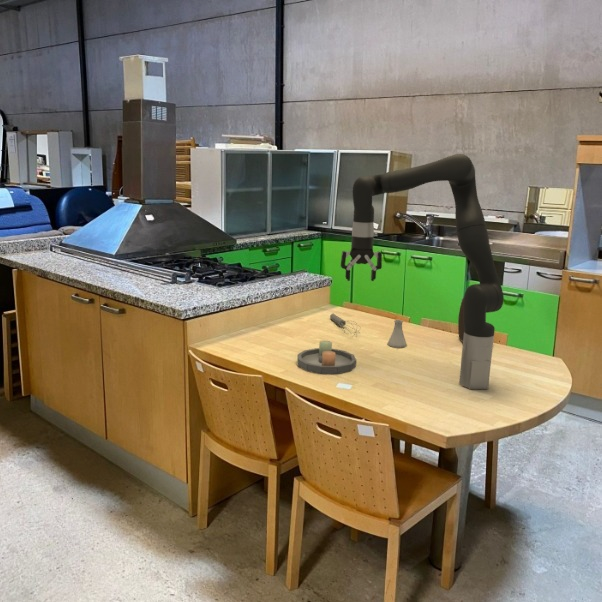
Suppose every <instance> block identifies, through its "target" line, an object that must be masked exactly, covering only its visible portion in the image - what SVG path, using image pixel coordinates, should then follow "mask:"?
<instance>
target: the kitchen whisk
mask: <svg viewBox="0 0 602 602" xmlns="http://www.w3.org/2000/svg"><path fill="white" fill-rule="evenodd" d="M329 317H330V318H329V319H331V320H332V321H333V322H334V323H336V324H338V325H339V326H340V327H341V329H342V331H343V333H345V332H346V331H345V329H346V330H347V331H348V332H350V331H353V332H350V335H352V334H353V335H352V336H351V338H353V337H354V336H355V335H356V336H358V334H361V332H360V330H361V326H360V325H358V323H357V322H356V321H353V320H352V322H351V321H349V320H344V319H342V317H339V316H338V315H337V314H335V313H331V314H330V316H329ZM353 322H354V324H353ZM347 323H348V324H351V326H352V327H351V329H350V327H349V325H348V324H347ZM354 325H355V326H357V325H358V327H360V328H359V330H358V328H356V329H355V327H354ZM347 326H348V327H349V328H348V327H347ZM344 328H345V329H344ZM345 334H347V335H348V333H347V332H346V333H345Z"/></svg>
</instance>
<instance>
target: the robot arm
mask: <svg viewBox="0 0 602 602" xmlns="http://www.w3.org/2000/svg"><path fill="white" fill-rule="evenodd" d="M443 181H447V182H448V184H449V186H450V190H451V192H452V196H453V199H454V204H455V205H454V206H455V212H454V213H455V214H454V215H455V228H456V229H455V231H456V235H457V240H458V244H459V247H460V249H461V251H462V253H463V255H464V256H466V259H468V261H469V262H470V263H471V265H472V266H473V268H474V269H475V271H476V273H477V277H478V281H479V283H475V284H470V285H469V286H468V287H467V288H466V289H465V291H464V296H463V297H464V303H463V324H464V338H463V342H462V349H461V358H460V370H459V371H460V372H459V380H458V383H459V385H461V386H463V387H465V388H467V389H469V390H488V389H489V385H490V377H491V366H492V365H491V364H492V357H493V356H492V355H493V348H494V337H495V331H496V330H495V329H496V327H495V326H494V325H493V324H492V323H489V322H487V321H486V322H485V313H486V314H487V313H495V312H498V311H500V310H501V309H502V307H503V305H504V291H503V288H502V284H501V282H500V278H499V275H498V272H497V269H496V265H495V263H494V257H493V254H492V250H491V245H490V240H489V233H488V228H487V223H486V219H485V216H484V212H483V210H482V208H481V207H482V206H481V204H480V201H479V197H478V192H477V191H478V190H477V183H476V168H475V166H474V163H473V161H472V160H471V158H470V157H469V156H468V155H466V154H464V153H455V154H452V155H449V156H446V157H443V158H441V159H437V160H436V161H435V160H434V161H432V162H427V163H424V164H421V165H417V166H413V167H409V168H403V169H398V170H397V169H395V170H392V171H388V172H384V173H380V174H375V175H368V176H367V175H366V176H359V177H358V178H356V179H355V181H354V182H353V186H352V201H353V220H352V221H353V223H352V229H351V232H352V233H351V243H350V245H351V248H350V250H349V251H345V250H342V252H341V258H340V268H341V269H343V270H345V275H344V276H345V279H346V281H347V282H350V281H351V268H353V267H354V265H356V264H357V265H361V264H362V265H367V264H368V265H369V267H370V268H371V270H370V281H371V282H374V281H375V280H376V279H377V278H376V277H377V270H381V269H382V268H383V265H382V264H383V263H382V262H383V256H382V254H383V253H382V252H381V251H380V250H379V251H376V252H375V251H374V250H373V249H374V236H375V230H374V229H375V226H374V225H375V224H374V221H375V220H374V219H375V208H374V205H373V197H374V196H378V195H383V194H393V193H398V192H405V191H409V190H412V189H414V188H418V187H419V186H422V185H424V184H428V183H433V182H443ZM349 256H350V257H351V259H350V260H349V261H348V263H347V265H346V261H347V258H348V257H349ZM373 257H375V258H376V265H375V264H374V263H373V261H372V259H373Z"/></svg>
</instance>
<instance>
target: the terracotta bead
mask: <svg viewBox="0 0 602 602" xmlns="http://www.w3.org/2000/svg"><path fill="white" fill-rule="evenodd" d="M322 366H335V352H333V351H324V352H322Z"/></svg>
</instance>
